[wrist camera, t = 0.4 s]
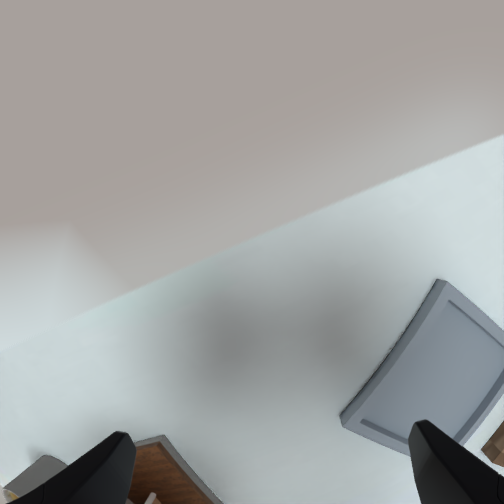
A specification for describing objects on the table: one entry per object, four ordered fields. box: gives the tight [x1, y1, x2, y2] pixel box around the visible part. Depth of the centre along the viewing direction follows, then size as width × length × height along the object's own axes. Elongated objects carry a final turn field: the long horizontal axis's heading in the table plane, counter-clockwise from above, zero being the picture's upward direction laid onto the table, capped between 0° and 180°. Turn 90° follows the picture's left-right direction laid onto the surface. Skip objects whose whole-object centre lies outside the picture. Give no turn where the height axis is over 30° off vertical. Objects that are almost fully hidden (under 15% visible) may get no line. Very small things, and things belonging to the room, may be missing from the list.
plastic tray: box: [340, 279, 504, 457], centre depth 20 cm, size 14×14×2 cm
